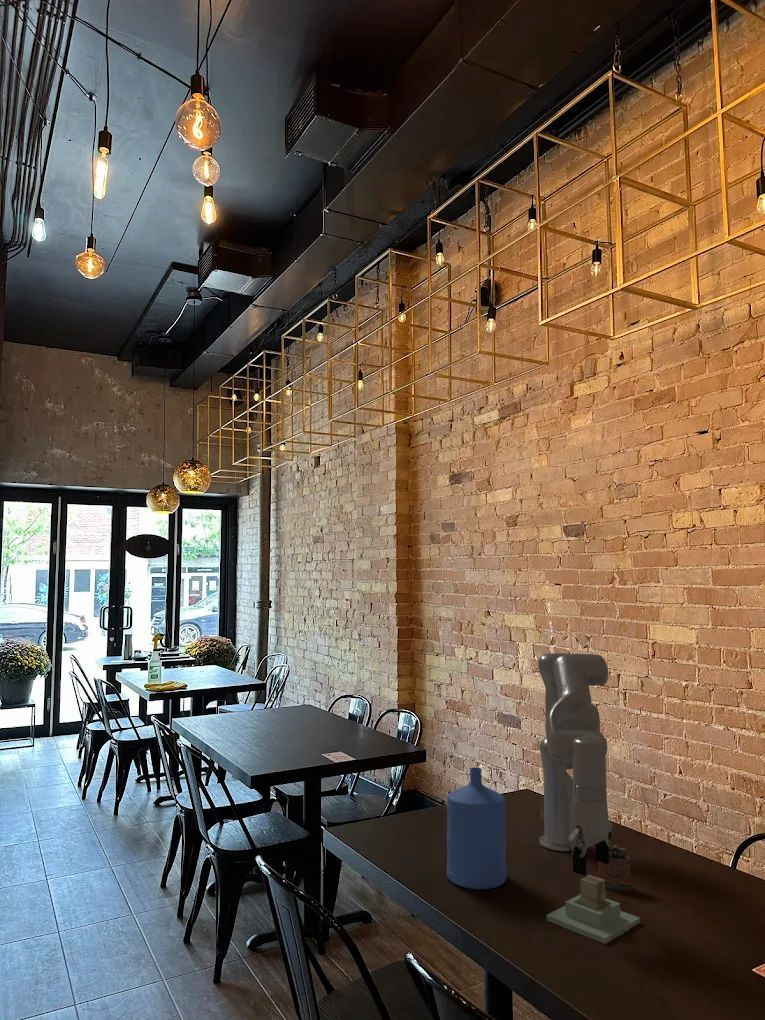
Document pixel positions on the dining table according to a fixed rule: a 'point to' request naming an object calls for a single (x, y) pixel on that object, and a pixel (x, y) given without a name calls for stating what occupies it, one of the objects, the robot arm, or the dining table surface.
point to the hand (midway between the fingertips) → (591, 867)
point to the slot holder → (593, 920)
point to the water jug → (476, 835)
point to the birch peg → (592, 892)
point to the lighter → (616, 870)
